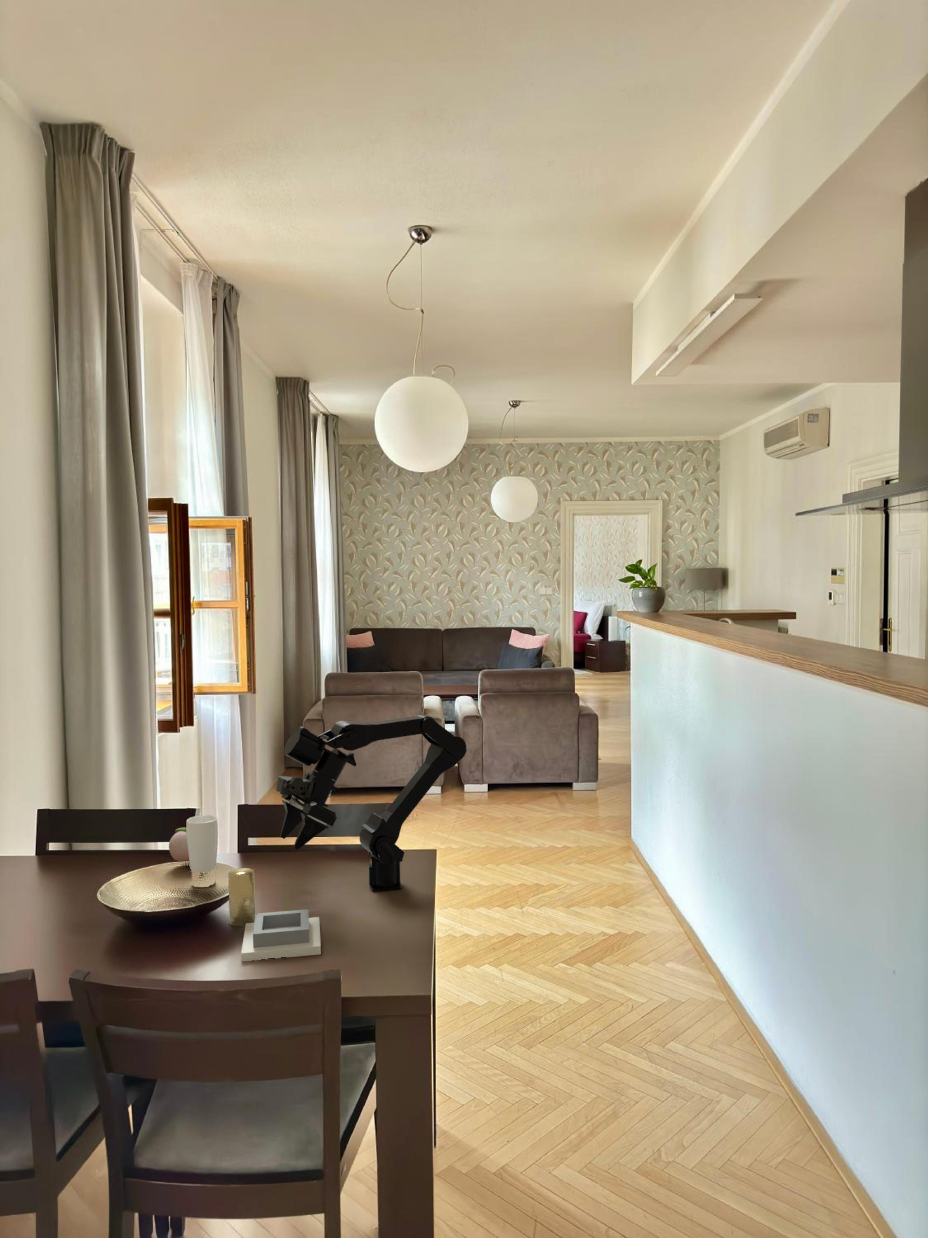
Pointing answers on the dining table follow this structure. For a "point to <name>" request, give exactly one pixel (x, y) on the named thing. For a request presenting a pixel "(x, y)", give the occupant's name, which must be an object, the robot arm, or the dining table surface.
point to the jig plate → (281, 935)
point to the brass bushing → (241, 897)
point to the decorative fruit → (179, 845)
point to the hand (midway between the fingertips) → (288, 843)
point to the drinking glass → (202, 842)
